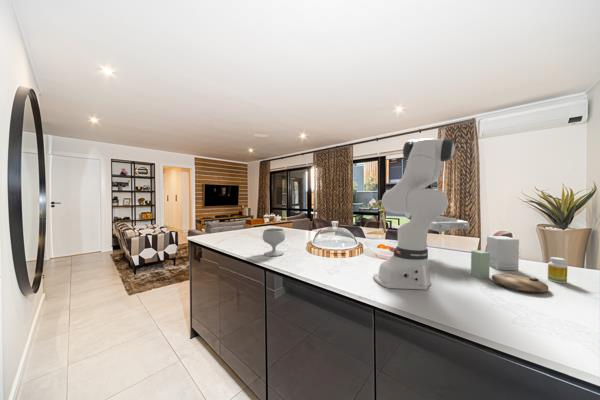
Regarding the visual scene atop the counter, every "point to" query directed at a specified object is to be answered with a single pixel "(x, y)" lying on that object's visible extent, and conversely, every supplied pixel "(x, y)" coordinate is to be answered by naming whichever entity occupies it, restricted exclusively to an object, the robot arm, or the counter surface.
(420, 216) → the robot arm
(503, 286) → the base
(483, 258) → the spindle block
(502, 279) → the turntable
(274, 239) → the chalice
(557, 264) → the supplement bottle
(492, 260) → the supplement box
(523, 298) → the counter surface
